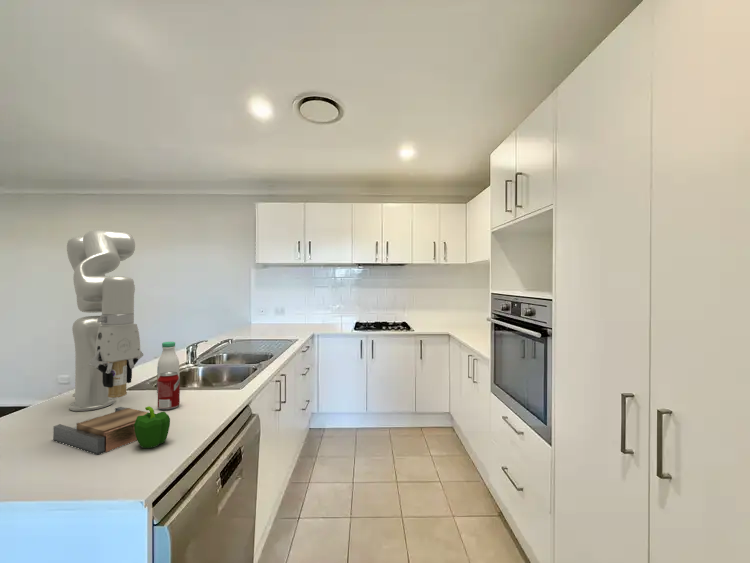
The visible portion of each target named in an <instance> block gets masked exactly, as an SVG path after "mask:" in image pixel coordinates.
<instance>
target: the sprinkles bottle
mask: <svg viewBox="0 0 750 563" xmlns="http://www.w3.org/2000/svg"><path fill="white" fill-rule="evenodd" d="M111 373H113V387H111V388H109V387H108V397H111V398H113V399H115V398H121V397H124V396H126V395H127V394H128V392H127V384H128V383H127V360H123V361H118V362H113V365H112V369H111Z"/></svg>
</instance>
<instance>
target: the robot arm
mask: <svg viewBox="0 0 750 563" xmlns="http://www.w3.org/2000/svg"><path fill="white" fill-rule="evenodd" d="M135 250H136V242H135V238H134V237H133V236H132V235H131V234H130V233H128V232H124V231H116V230H115V231H114V230H107V229H106V230H103V229H93V230H89V231H88V232H86V233H85V234H84V235H79V236H73V237H71V238H69V240H67V243H66V252H67V257H68V258H67V259H68V260H69V261H68V262H69V263H70V265H71V268H72V269H73V271H74V272H73V277H72V278H73V286H74V291H75V295H76V304H77V305H76V306H77V308H78V310H79V311H80V312H82V313H88V314H90V313H92V314H95V313H98V314H99V313H101V315H88V316H83V317H80V318H78V319H75V321H74V322H73V324H72V327H71V328H72V329H71V330H72V335H73V342H74V352H75V354H74V355H75V356H74V358H75V364H74V365H75V366H74V367H75V368H74V372H75V373H74V374H75V375H74V377H75V378H74V379H75V380H74V381H75V382H74V384H75V385H74V393H73V394H72V397H73V398H74V402H72V403H71V404H69V405H68V409H69V410H70V411H73V412H87V411H95V410H98V409H102V408H107V407H109V406H111V405H113V404H114V402H115V398H111V397H108V387H109V388H111V387H113V373H111V369H112V365H113V362H118V361H123V360H127V383H126V384H130V383H132V378H133V369H134V368H135V365H136V364H137V363H138V361H139V360H141V358H143V356H144V353H143V352H142V350H141V340H140V339H141V338H140V332H139V327H138V324H137V323H135V319H134V318H135V314H134V313H135V291H136V287H135V286H136V285H135V281H134V279H133V278H132V277H130V276H119V275H118V276H116V275H114V276H113V275H112V276H111V275H109V276H108V275H106V274H109V273H111V272H114V271H115V270H117V269H118V268H119V266H120V265H121V264H120V263H121V262H123V261H126V260H127V259H129V258H131V257H132V256H133V255H134V254H135Z"/></svg>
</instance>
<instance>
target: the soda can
mask: <svg viewBox="0 0 750 563" xmlns="http://www.w3.org/2000/svg"><path fill="white" fill-rule="evenodd" d="M180 383H181V377H180V375H179V376H178V372H164V373H161V374H160V377H159V379H158V393H157V409H159V410H161V411H170V410H174V409H176V408H177V407H179V406H180V402H181V401H180V400H181V397H180V392H181V390H180V389H181V388H180V386H181V384H180Z"/></svg>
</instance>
